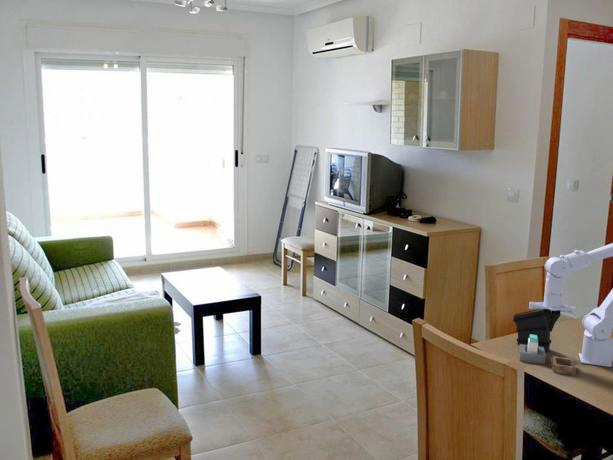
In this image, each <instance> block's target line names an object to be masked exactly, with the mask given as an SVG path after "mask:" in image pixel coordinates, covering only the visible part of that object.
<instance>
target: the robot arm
mask: <svg viewBox="0 0 613 460" xmlns="http://www.w3.org/2000/svg"><path fill="white" fill-rule="evenodd" d="M612 257H613V242H611V243H609V244H606V245H604V246H600V247H598V248H595V249H593V250H590V251H587V252H585V251H584V250H578V249H574V250H573V252H571V253H569V254H566V255H564V254H560V255H559V257H558V256H557V257H555V256H554V257H553V256H552V257H550V258H548V260H546V261H545V263H544V269H545V270H546V274H545V275H546V277H545V285H544V293H543V295H544V296H543V301H541V302H540V301H537V302H536V301H529V304H528V305H529V306H528V309H529V310H536V309H542V310H543V312H544V315H545V318H546V321H547V330H548V331H550V333H552V332H553V329H554V328H555V325H556V323H557V321H558V319H559V318H560V316H561V313H569V314H573V315H574V314H576V310H577V308H576V306H572V305H567V304H566V305H565V304H562V303H563V294H564V286H565V285H564V284H565V277H566V276H567V275H568V273H571V272H573V271H577V270H581V269H583V268H587V267H588V266H589V265H590V263H591V262H596V261H601V260H604V259H608V258H612ZM581 325H582V327H583V328H584V332H583V339H582V340H583V341H582V348H581V352H579V353H578V356H579V360H580V362H581V364H586V365H587V364H588V365H594V366H595V365H596V366H601V367H608V368H612V367H613V338H612V337H610V336H611V335H612V333H613V288H612V289H611V290H610V292H609V293H608V294H607V296H606V297H605V299H604V300H603V301H602V303H601V304H600V305H599V306H598V307H595V308H593V309H592V310H591V311H590V313H587V314H586V315H584V317H583V318H582V320H581ZM611 366H612V367H611Z"/></svg>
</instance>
